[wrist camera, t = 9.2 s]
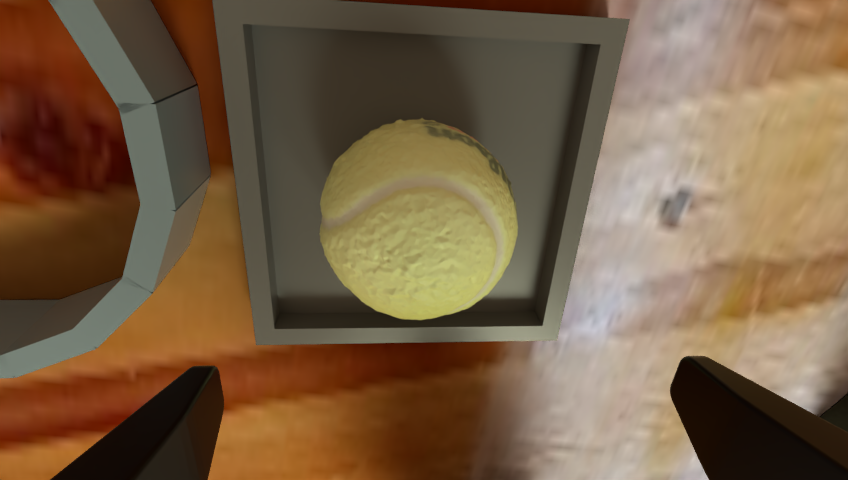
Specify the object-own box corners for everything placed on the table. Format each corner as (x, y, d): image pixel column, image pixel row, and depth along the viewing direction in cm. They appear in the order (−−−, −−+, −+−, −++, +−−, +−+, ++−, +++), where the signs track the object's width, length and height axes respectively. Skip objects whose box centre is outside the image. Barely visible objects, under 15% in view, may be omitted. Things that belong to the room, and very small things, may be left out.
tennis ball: (587, 284, 13) (411, 114, 10) (418, 397, 15) (243, 284, 13) (539, 181, 18) (415, 54, 16) (419, 278, 21) (296, 182, 18)
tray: (608, 18, 17) (629, 19, 15) (546, 320, 22) (556, 340, 21) (225, -7, 15) (211, -8, 14) (263, 323, 21) (256, 344, 19)
